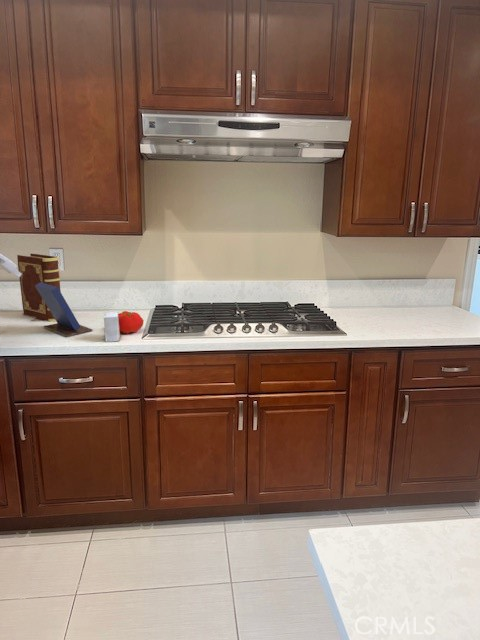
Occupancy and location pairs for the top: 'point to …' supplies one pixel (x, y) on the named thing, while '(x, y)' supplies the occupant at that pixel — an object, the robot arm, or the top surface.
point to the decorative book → (32, 274)
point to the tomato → (129, 322)
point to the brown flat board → (67, 330)
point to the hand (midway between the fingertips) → (15, 273)
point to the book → (57, 306)
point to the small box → (111, 327)
